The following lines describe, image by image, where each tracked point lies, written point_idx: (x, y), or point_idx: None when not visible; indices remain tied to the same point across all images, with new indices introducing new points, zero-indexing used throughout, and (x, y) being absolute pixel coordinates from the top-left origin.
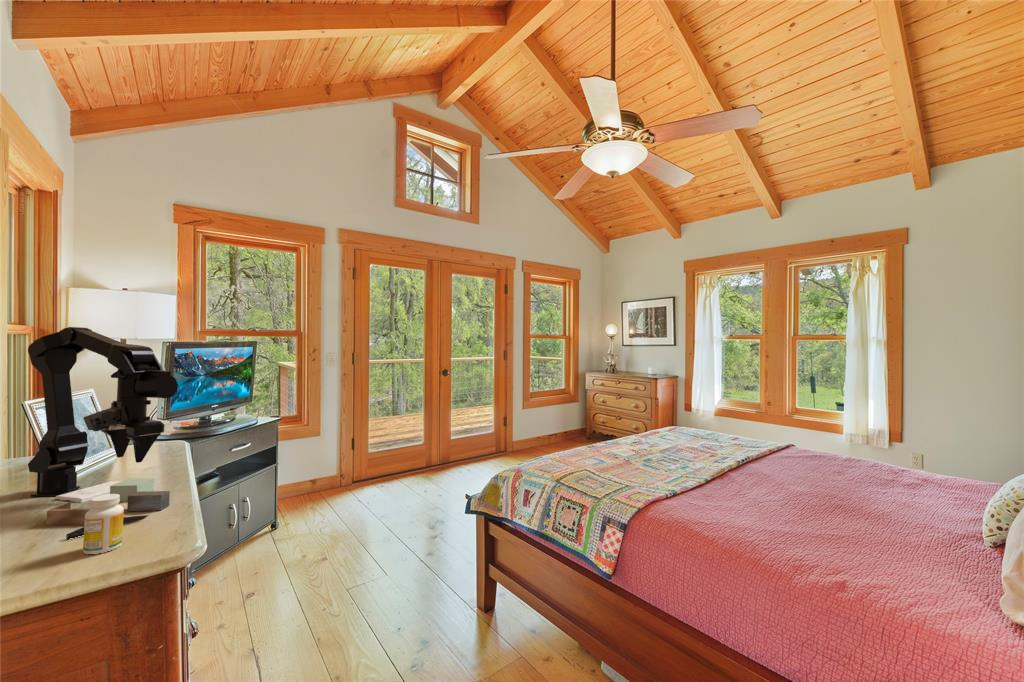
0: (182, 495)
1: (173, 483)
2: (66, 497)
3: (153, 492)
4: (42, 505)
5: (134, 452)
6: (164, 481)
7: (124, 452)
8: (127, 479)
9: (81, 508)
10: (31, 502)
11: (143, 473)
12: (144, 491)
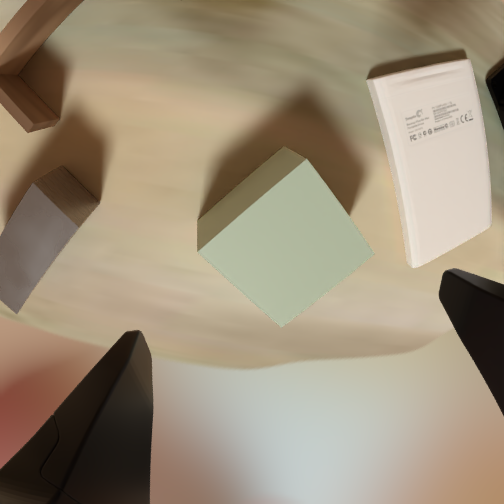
0: (145, 340)
1: (333, 350)
2: (435, 64)
3: (23, 270)
4: (426, 8)
5: (105, 391)
6: (382, 335)
7: (453, 321)
8: (364, 247)
9: (30, 16)
10: (476, 18)
11: None
12: (60, 250)
